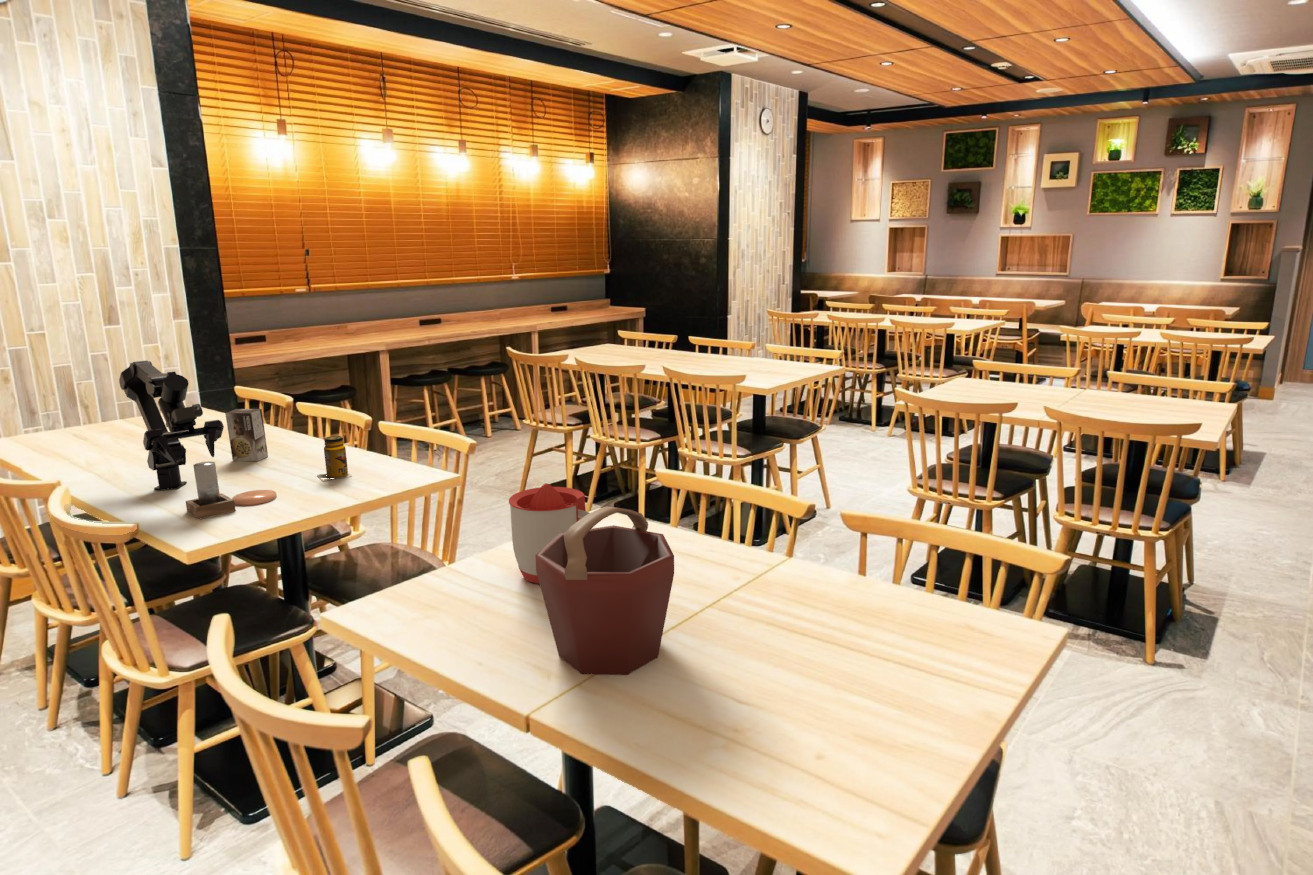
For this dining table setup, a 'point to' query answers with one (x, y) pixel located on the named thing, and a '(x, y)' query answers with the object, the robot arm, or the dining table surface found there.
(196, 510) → the pocket block
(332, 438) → the condiment
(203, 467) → the peg
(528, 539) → the citrus juicer
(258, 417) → the coffee box
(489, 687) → the dining table surface
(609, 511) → the bucket
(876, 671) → the dining table surface
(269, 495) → the coaster
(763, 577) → the dining table surface
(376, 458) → the dining table surface
